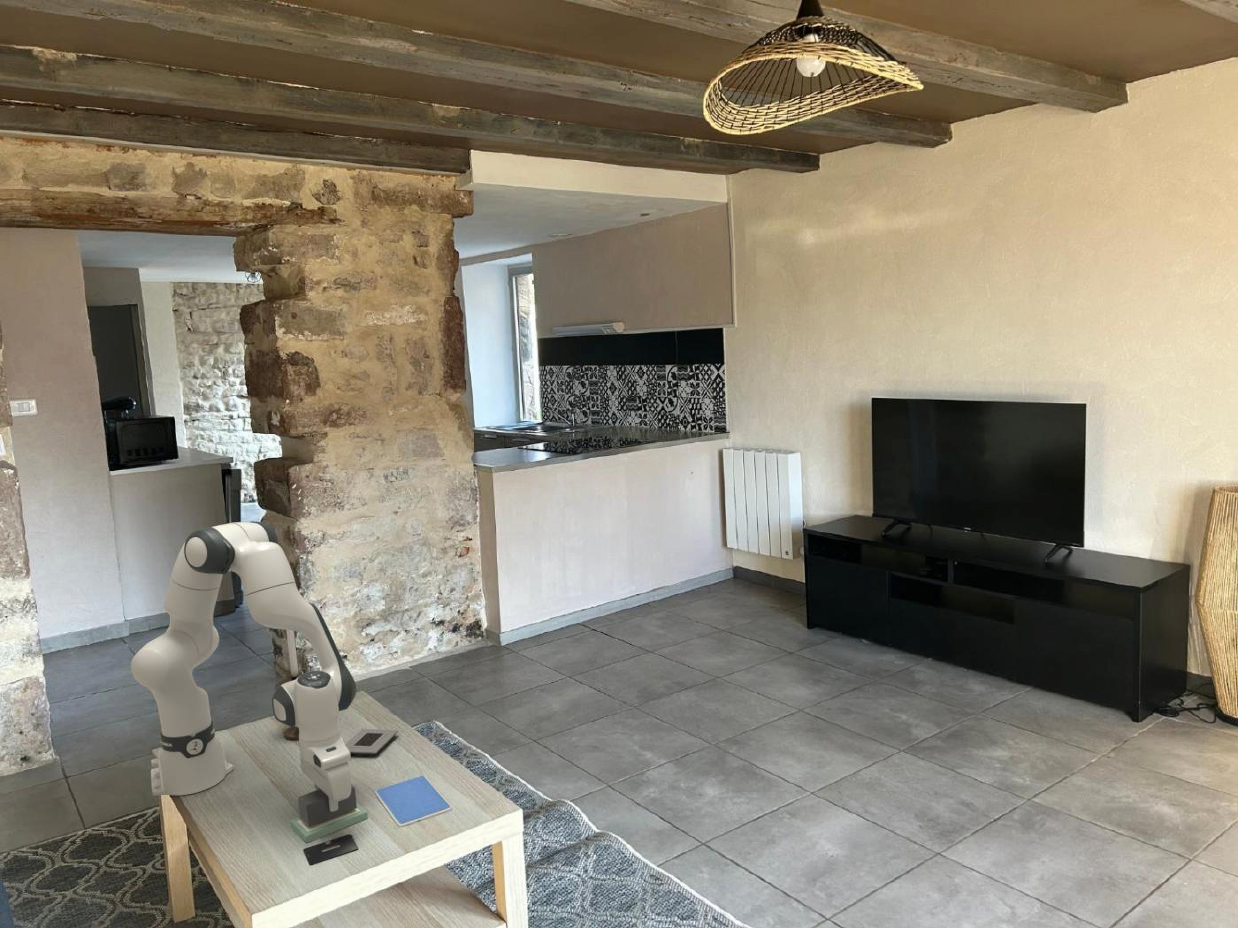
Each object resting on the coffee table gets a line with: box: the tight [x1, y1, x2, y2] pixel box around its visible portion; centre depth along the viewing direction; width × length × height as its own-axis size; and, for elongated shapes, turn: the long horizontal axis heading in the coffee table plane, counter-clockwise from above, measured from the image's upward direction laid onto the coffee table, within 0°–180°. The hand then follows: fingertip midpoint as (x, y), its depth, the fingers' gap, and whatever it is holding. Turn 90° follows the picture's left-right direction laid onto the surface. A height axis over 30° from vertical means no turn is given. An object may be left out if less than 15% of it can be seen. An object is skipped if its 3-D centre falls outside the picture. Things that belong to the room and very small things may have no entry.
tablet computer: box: [374, 775, 453, 828], centre depth 207 cm, size 19×13×1 cm, turn 32°
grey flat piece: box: [345, 728, 399, 756], centre depth 237 cm, size 13×10×2 cm
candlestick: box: [274, 630, 304, 742], centre depth 245 cm, size 11×11×35 cm
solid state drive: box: [302, 833, 359, 866], centre depth 189 cm, size 7×10×1 cm
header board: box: [290, 801, 369, 844], centre depth 200 cm, size 9×14×4 cm, turn 130°
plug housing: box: [297, 783, 357, 827], centre depth 199 cm, size 5×11×5 cm, turn 130°
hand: (327, 804), depth 199 cm, fingers closed on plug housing, 5 cm apart
